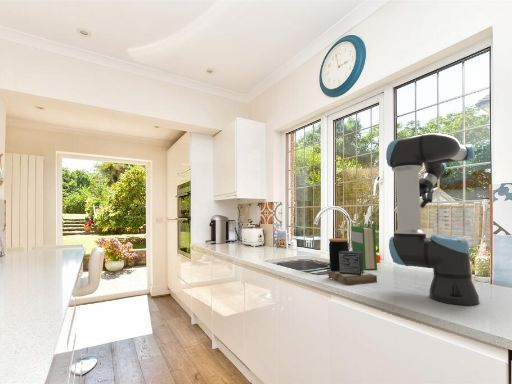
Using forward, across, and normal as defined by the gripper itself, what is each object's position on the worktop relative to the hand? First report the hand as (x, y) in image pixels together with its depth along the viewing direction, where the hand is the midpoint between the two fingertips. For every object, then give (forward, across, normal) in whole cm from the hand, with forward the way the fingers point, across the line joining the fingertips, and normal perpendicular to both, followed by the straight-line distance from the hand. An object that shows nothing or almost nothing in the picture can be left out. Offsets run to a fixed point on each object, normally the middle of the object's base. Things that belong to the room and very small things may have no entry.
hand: (405, 211), depth 145 cm
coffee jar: (+41, +23, -5) cm, 48 cm away
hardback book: (+27, +28, -19) cm, 43 cm away
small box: (+43, +4, +1) cm, 44 cm away
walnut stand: (+46, +4, -1) cm, 46 cm away
